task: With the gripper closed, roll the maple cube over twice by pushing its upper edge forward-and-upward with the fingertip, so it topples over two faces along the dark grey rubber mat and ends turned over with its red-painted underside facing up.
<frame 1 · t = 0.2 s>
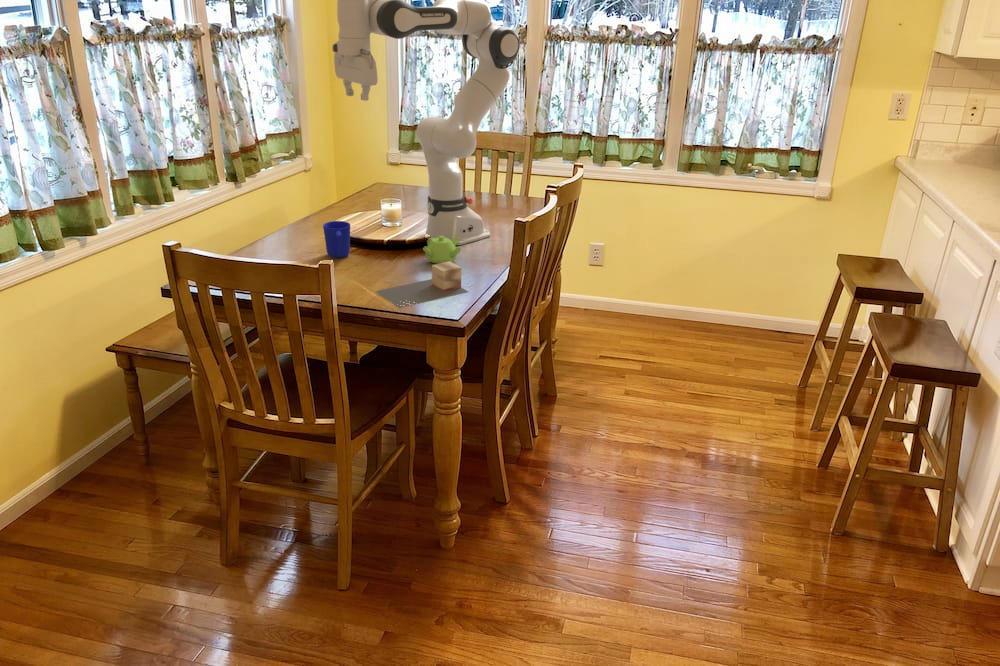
hand: (357, 98, 234), 48 cm above the table, fingers open, 8 cm apart
mat: (422, 292, 224), on the table
mug: (339, 258, 249), on the table
teapot: (443, 263, 247), on the table
cube: (446, 286, 228), resting on mat
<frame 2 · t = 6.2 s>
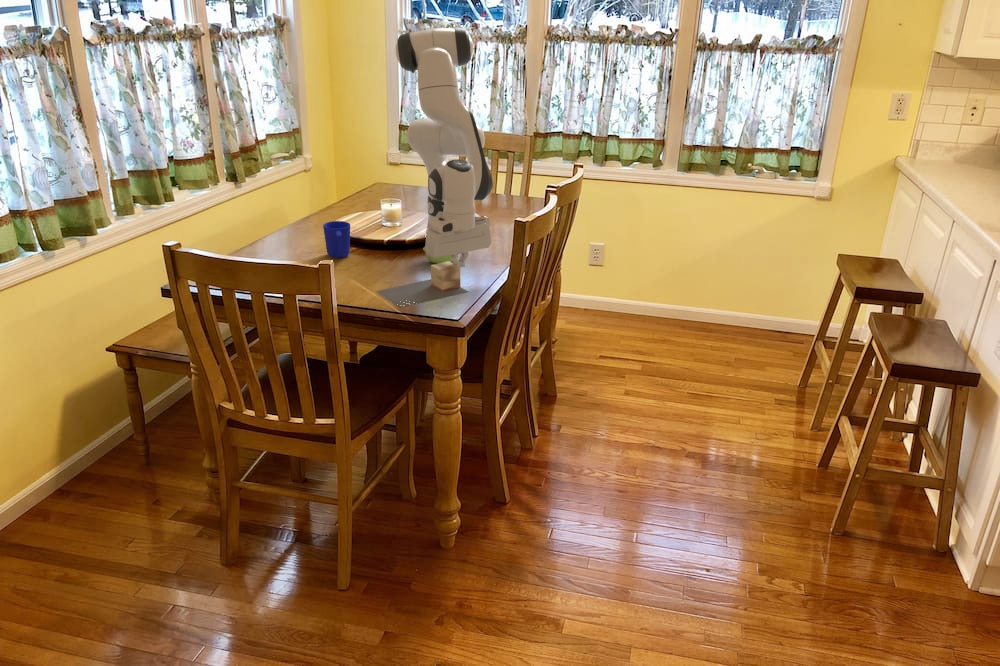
hand: (458, 267, 229), 5 cm above the table, fingers closed
cube: (445, 285, 228), resting on mat, touching gripper
everything else where it was.
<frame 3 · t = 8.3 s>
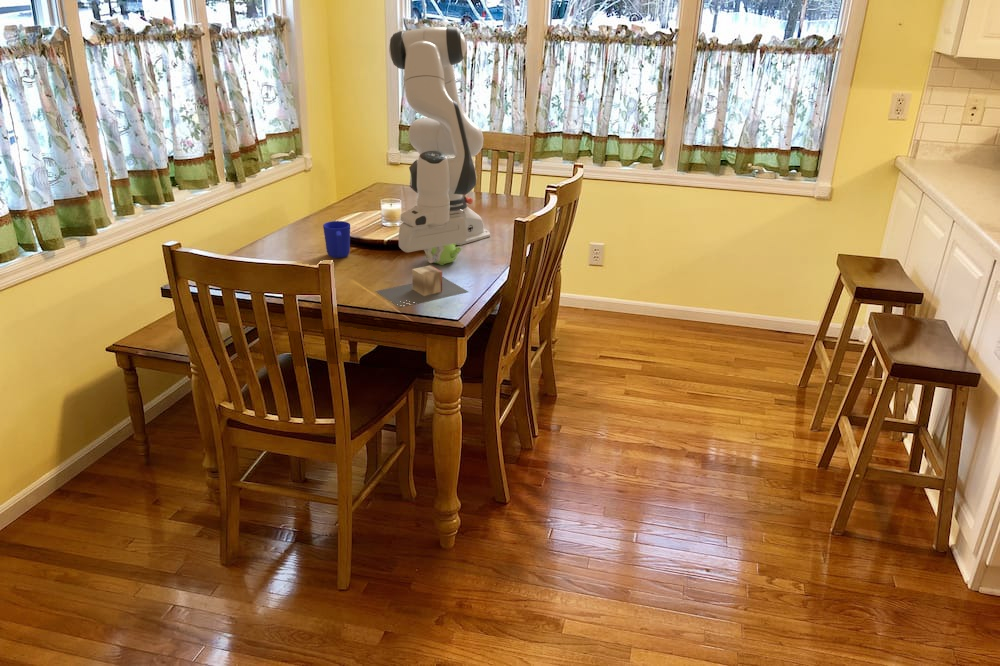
hand: (433, 261, 223), 9 cm above the table, fingers closed
cube: (436, 278, 225), point 3 cm above the table, tilted 90°, touching mat
everything else where it was.
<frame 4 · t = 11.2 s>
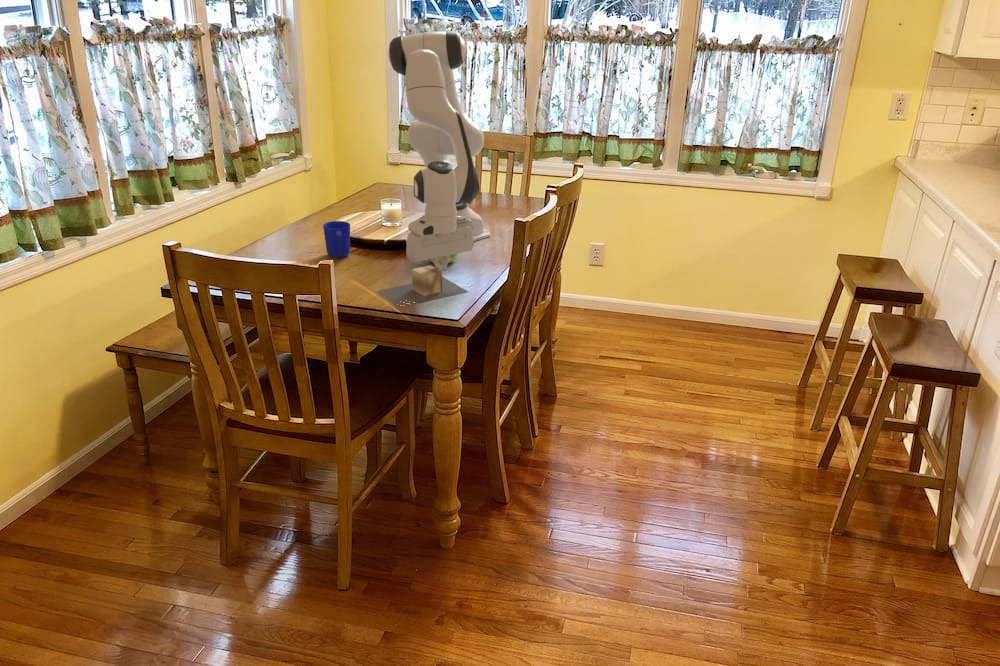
hand: (440, 270, 225), 6 cm above the table, fingers closed
cube: (436, 278, 225), point 3 cm above the table, tilted 90°, touching gripper, mat
everything else where it was.
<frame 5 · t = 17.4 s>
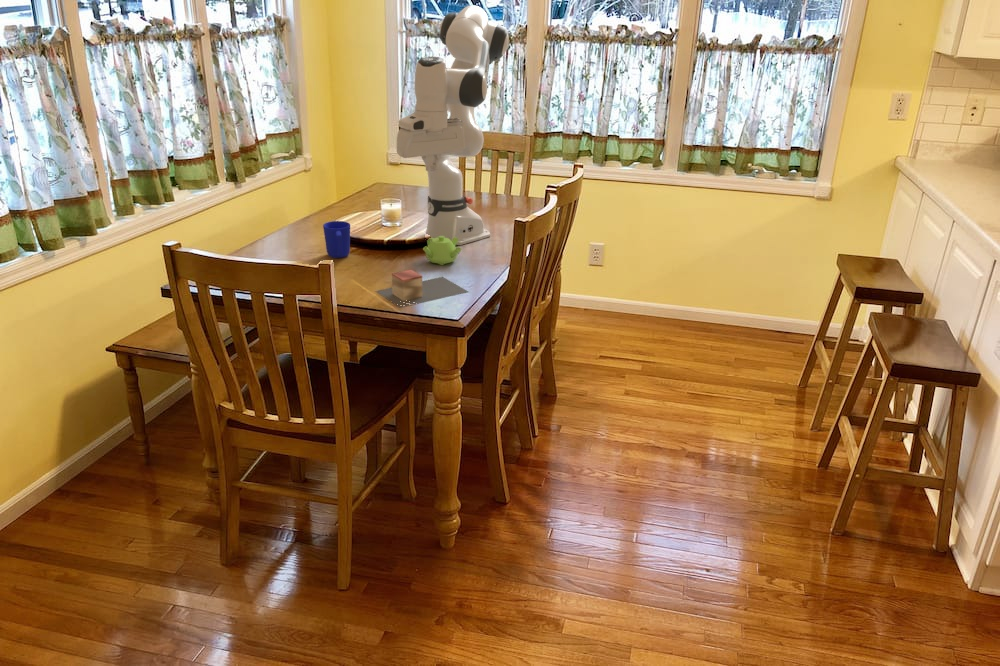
hand: (431, 170, 225), 31 cm above the table, fingers closed
cube: (407, 274, 219), point 6 cm above the table, tilted 180°, touching mat
everything else where it was.
at the end: cube tilted 180°; cube inside the target area (0.7 cm from its centre), point 6.4 cm above the table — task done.
